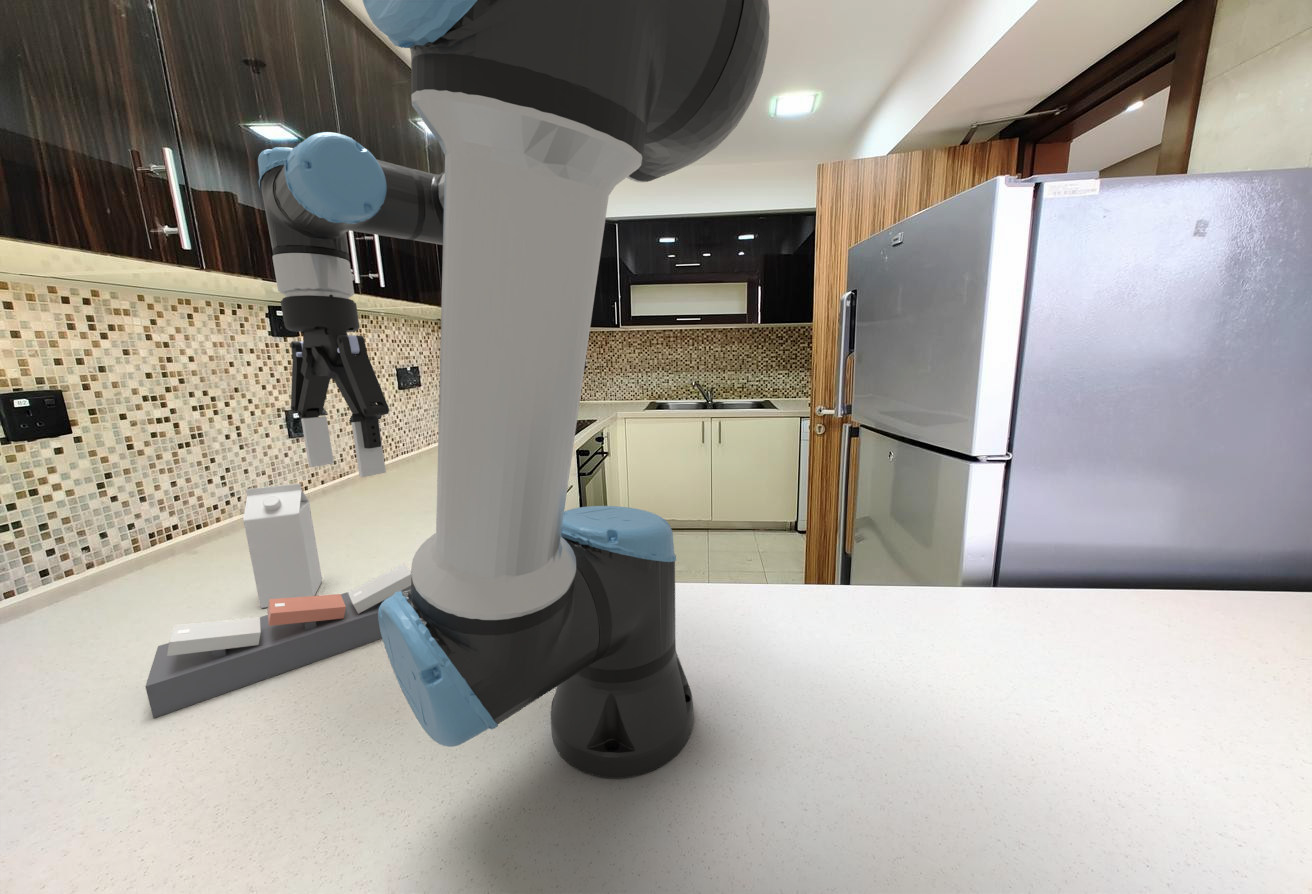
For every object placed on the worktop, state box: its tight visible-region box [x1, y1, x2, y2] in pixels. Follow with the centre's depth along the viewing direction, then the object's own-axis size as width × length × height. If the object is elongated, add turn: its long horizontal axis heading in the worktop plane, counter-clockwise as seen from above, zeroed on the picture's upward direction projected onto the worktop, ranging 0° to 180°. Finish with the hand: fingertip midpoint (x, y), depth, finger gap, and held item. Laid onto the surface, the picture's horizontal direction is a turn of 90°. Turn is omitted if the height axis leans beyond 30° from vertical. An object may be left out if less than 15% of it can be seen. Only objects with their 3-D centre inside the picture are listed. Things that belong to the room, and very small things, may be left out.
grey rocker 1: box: [167, 616, 261, 656], centre depth 58 cm, size 5×8×2 cm, turn 130°
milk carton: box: [242, 483, 323, 609], centre depth 79 cm, size 7×7×19 cm
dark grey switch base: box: [144, 586, 411, 719], centre depth 67 cm, size 10×36×5 cm, turn 130°
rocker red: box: [267, 593, 346, 626], centre depth 64 cm, size 5×8×2 cm, turn 130°
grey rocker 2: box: [347, 562, 411, 614], centre depth 69 cm, size 5×8×2 cm, turn 130°
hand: (345, 469), depth 61 cm, fingers open, 13 cm apart
